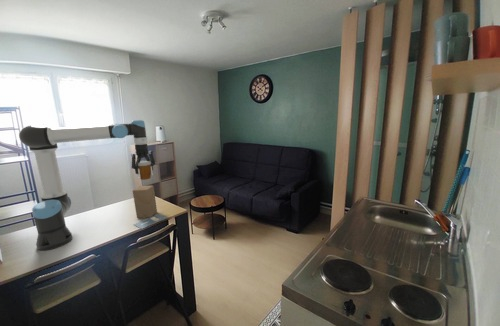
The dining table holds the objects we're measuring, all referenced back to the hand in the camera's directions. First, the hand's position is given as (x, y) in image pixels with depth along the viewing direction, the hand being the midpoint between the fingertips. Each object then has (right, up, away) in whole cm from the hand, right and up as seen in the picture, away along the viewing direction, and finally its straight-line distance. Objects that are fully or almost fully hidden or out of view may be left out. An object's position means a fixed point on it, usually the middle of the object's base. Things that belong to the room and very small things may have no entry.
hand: (145, 176), depth 151 cm
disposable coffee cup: (0, -1, 0) cm, 1 cm away
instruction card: (+6, -29, -5) cm, 30 cm away
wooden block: (-1, -27, +4) cm, 28 cm away
